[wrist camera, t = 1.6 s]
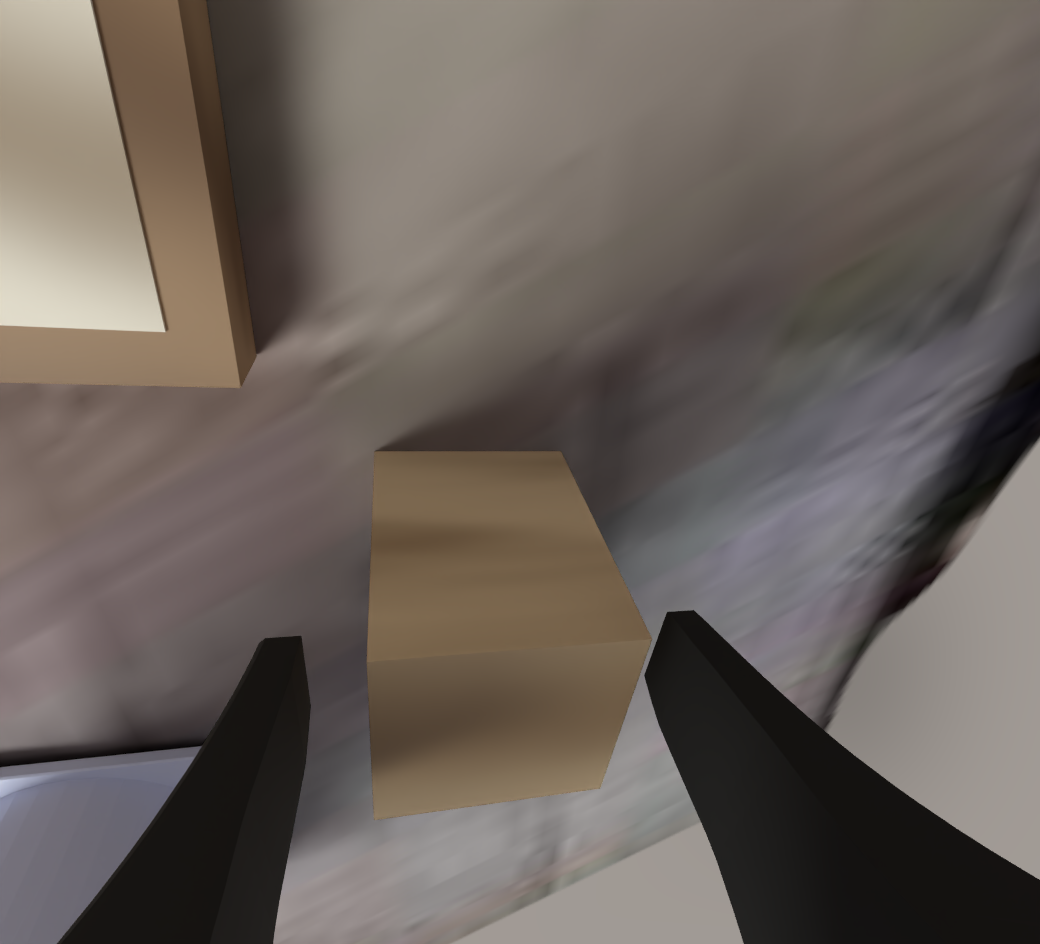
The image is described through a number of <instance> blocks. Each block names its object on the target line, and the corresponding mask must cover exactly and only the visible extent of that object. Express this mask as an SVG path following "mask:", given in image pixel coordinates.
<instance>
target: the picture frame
mask: <svg viewBox="0 0 1040 944" xmlns="http://www.w3.org/2000/svg"><path fill="white" fill-rule="evenodd" d="M256 357H257V356H256V349H255V342H254V335H253V328H252V320H251V313H250V306H249V299H248V292H247V285H246V278H245V271H244V264H243V257H242V250H241V243H240V236H239V228H238V221H237V214H236V207H235V200H234V193H233V186H232V179H231V172H230V165H229V158H228V151H227V144H226V137H225V129H224V122H223V115H222V108H221V101H220V94H219V87H218V80H217V73H216V66H215V59H214V52H213V45H212V37H211V30H210V23H209V16H208V9H207V2H206V0H0V382H1V383H44V384H88V385H132V386H176V387H220V388H241V386H242V384H243V382H244V380H245V378H246V376H247V374H248V372H249V370H250V368H251V367H252V365H253V363H254V361H255V359H256Z"/></svg>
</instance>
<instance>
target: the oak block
mask: <svg viewBox="0 0 1040 944" xmlns="http://www.w3.org/2000/svg"><path fill="white" fill-rule="evenodd" d="M651 641H652V638H651V636H650V634H649V632H648V630H647V627H646V625H645V623H644V621H643V619H642V617H641V615H640V613H639V611H638V609H637V607H636V605H635V603H634V601H633V599H632V597H631V595H630V592H629V590H628V588H627V586H626V584H625V582H624V580H623V578H622V576H621V574H620V572H619V570H618V568H617V566H616V564H615V562H614V560H613V557H612V555H611V553H610V551H609V549H608V547H607V545H606V543H605V541H604V539H603V537H602V535H601V533H600V531H599V529H598V527H597V525H596V522H595V520H594V518H593V516H592V514H591V512H590V510H589V508H588V506H587V504H586V502H585V500H584V498H583V496H582V494H581V492H580V490H579V487H578V485H577V483H576V481H575V479H574V477H573V475H572V473H571V471H570V469H569V467H568V465H567V463H566V461H565V459H564V457H563V455H562V452H561V451H375V455H374V482H373V508H372V535H371V561H370V588H369V614H368V641H367V679H368V701H369V723H370V744H371V766H372V787H373V809H374V820H379V819H386V818H393V817H400V816H407V815H415V814H422V813H429V812H436V811H443V810H450V809H457V808H464V807H472V806H479V805H486V804H493V803H500V802H507V801H514V800H521V799H529V798H536V797H543V796H550V795H557V794H564V793H571V792H578V791H586V790H593V789H600V787H601V784H602V782H603V779H604V776H605V773H606V770H607V767H608V764H609V761H610V759H611V756H612V753H613V750H614V747H615V744H616V741H617V739H618V736H619V733H620V730H621V727H622V724H623V721H624V718H625V716H626V713H627V710H628V707H629V704H630V701H631V698H632V695H633V693H634V690H635V687H636V684H637V681H638V678H639V675H640V673H641V670H642V667H643V664H644V661H645V658H646V655H647V652H648V650H649V647H650V644H651Z"/></svg>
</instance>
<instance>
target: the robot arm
mask: <svg viewBox="0 0 1040 944" xmlns="http://www.w3.org/2000/svg"><path fill="white" fill-rule="evenodd" d="M644 676H645V680H646V683H647V687H648V690H649V694H650V697H651V701H652V704H653V707H654V711H655V714H656V717H657V720H658V723H659V726H660V728H661V731H662V733H663V736H664V738H665V740H666V743H667V745H668V747H669V750H670V752H671V754H672V757H673V759H674V761H675V764H676V766H677V768H678V770H679V773H680V775H681V777H682V780H683V782H684V784H685V786H686V789H687V791H688V793H689V796H690V798H691V800H692V802H693V805H694V807H695V809H696V812H697V814H698V816H699V818H700V821H701V823H702V825H703V828H704V830H705V832H706V834H707V837H708V840H709V842H710V844H711V847H712V850H713V852H714V855H715V857H716V860H717V863H718V866H719V869H720V871H721V875H722V878H723V881H724V883H725V887H726V890H727V893H728V896H729V898H730V901H731V904H732V907H733V911H734V913H735V917H736V920H737V923H738V926H739V929H740V933H741V936H742V939H743V942H744V944H1040V880H1039V879H1037V878H1035V877H1034V876H1032V875H1030V874H1029V873H1027V872H1025V871H1024V870H1022V869H1021V868H1019V867H1017V866H1016V865H1014V864H1012V863H1011V862H1009V861H1007V860H1006V859H1004V858H1002V857H1001V856H999V855H997V854H996V853H994V852H992V851H991V850H989V849H988V848H986V847H984V846H983V845H981V844H980V843H978V842H977V841H975V840H973V839H972V838H970V837H969V836H967V835H966V834H964V833H962V832H961V831H959V830H958V829H956V828H955V827H953V826H952V825H950V824H949V823H947V822H946V821H945V820H943V819H941V818H940V817H938V816H937V815H936V814H934V813H933V812H931V811H930V810H928V809H927V808H925V807H924V806H922V805H921V804H919V803H918V802H917V801H915V800H914V799H912V798H911V797H909V796H908V795H906V794H905V793H904V792H902V791H901V790H900V789H898V788H897V787H895V786H894V785H893V784H891V783H890V782H888V781H887V780H886V779H885V778H883V777H882V776H881V775H879V774H878V773H877V772H876V771H874V770H873V769H872V768H870V767H869V766H867V765H866V764H865V763H864V762H862V761H861V760H860V759H858V758H857V757H856V756H854V755H853V754H852V753H851V752H849V751H848V750H847V749H846V748H844V747H843V746H842V745H841V744H839V743H838V742H837V741H836V740H835V739H833V738H832V737H831V736H830V735H829V734H828V733H826V732H825V731H824V730H823V729H822V728H820V727H819V726H818V725H817V724H816V723H815V722H813V721H812V720H811V719H810V718H809V717H807V716H806V715H805V714H804V713H803V712H802V711H801V710H800V709H798V708H797V707H796V706H795V705H794V704H793V703H792V702H790V701H789V700H788V699H787V698H786V697H785V696H784V695H783V694H782V693H781V692H779V691H778V690H777V689H776V688H775V687H774V686H773V685H772V684H771V683H770V682H769V681H768V680H766V679H765V678H764V677H763V676H762V675H761V674H760V673H759V672H758V671H757V670H756V669H755V668H754V667H753V666H752V665H751V664H750V663H748V662H747V661H746V660H745V659H744V658H743V657H742V656H741V655H740V654H739V653H738V652H737V651H736V650H735V649H734V648H733V647H732V646H731V645H730V644H729V643H728V642H727V641H726V640H725V639H724V638H723V637H721V636H720V635H719V634H718V633H717V632H716V631H715V630H714V629H713V628H712V627H711V626H710V625H709V624H708V623H707V622H706V621H705V620H704V619H703V618H702V617H701V616H699V615H698V614H697V613H696V612H695V611H694V610H691V611H676V612H667V614H666V617H665V620H664V622H663V625H662V628H661V631H660V633H659V636H658V639H657V642H656V645H655V647H654V650H653V653H652V656H651V658H650V661H649V664H648V667H647V669H646V672H645V675H644ZM310 708H311V704H310V697H309V690H308V682H307V675H306V668H305V660H304V653H303V646H302V638H301V636H293V637H278V638H265V639H264V640H263V641H261V642H260V643H259V645H258V647H257V649H256V651H255V653H254V655H253V657H252V659H251V661H250V663H249V665H248V667H247V669H246V671H245V673H244V675H243V677H242V679H241V681H240V682H239V684H238V686H237V688H236V690H235V692H234V693H233V695H232V697H231V699H230V700H229V702H228V704H227V706H226V707H225V709H224V711H223V713H222V714H221V716H220V718H219V719H218V721H217V722H216V724H215V726H214V727H213V729H212V731H211V732H210V734H209V735H208V737H207V739H206V740H205V742H204V744H203V745H202V746H197V747H188V748H178V749H169V750H159V751H150V752H140V753H131V754H121V755H112V756H102V757H92V758H83V759H73V760H64V761H54V762H45V763H35V764H26V765H16V766H7V767H0V944H273V939H274V931H275V925H276V918H277V912H278V906H279V900H280V895H281V890H282V884H283V879H284V874H285V869H286V864H287V858H288V853H289V848H290V843H291V838H292V833H293V827H294V822H295V817H296V812H297V807H298V801H299V796H300V791H301V786H302V780H303V775H304V770H305V764H306V754H307V743H308V732H309V720H310Z"/></svg>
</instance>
